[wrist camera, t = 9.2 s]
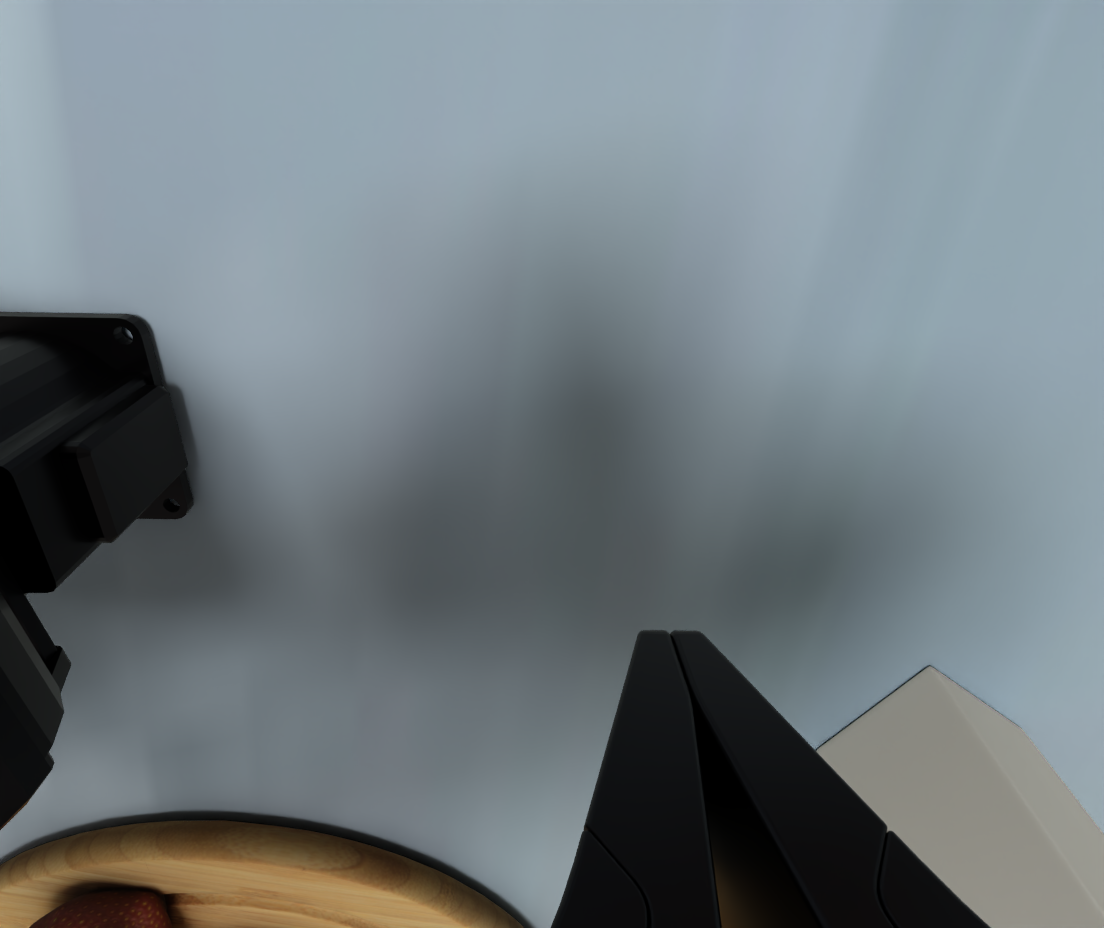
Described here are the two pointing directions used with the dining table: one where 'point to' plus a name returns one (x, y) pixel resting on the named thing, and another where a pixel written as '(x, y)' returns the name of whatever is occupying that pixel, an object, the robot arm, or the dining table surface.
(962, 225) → the dining table surface
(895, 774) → the milk
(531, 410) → the dining table surface
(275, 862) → the wooden plate with food
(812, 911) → the robot arm
